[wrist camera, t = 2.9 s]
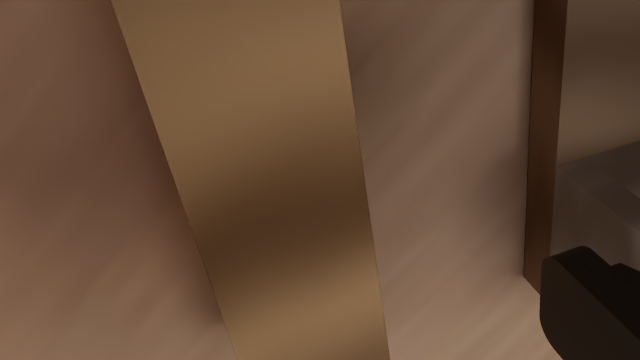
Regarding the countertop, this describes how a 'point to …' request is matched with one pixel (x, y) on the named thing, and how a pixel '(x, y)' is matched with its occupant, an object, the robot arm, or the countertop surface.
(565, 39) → the bracket board
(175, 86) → the rail
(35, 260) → the countertop surface
